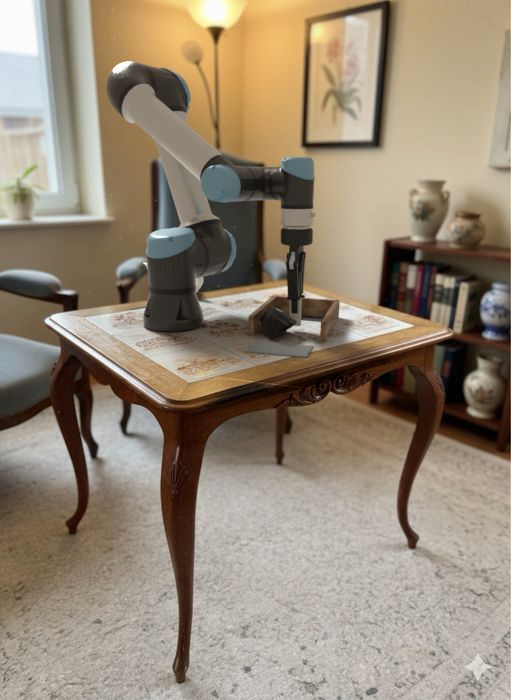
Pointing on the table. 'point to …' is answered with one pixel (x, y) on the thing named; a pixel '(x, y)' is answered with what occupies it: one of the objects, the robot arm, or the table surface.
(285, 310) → the open wooden frame
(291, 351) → the mat
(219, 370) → the table surface
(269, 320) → the rock
